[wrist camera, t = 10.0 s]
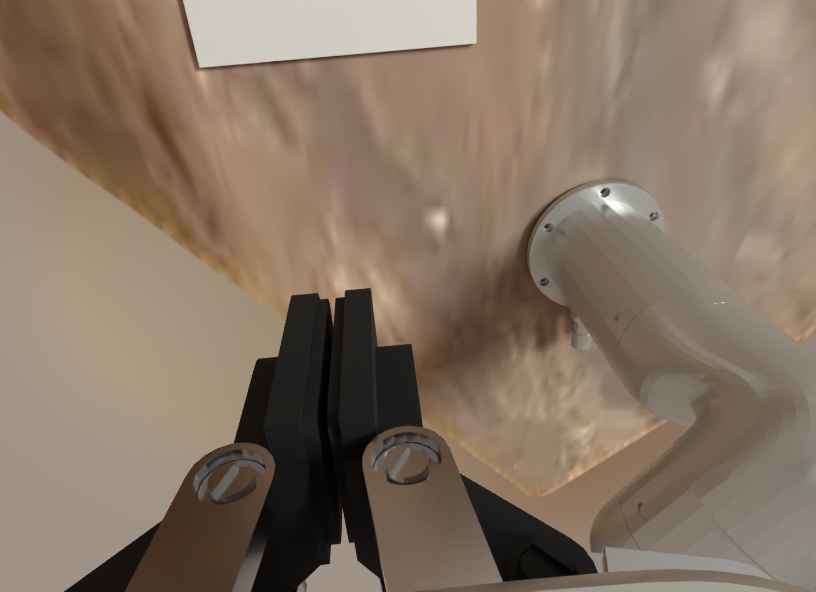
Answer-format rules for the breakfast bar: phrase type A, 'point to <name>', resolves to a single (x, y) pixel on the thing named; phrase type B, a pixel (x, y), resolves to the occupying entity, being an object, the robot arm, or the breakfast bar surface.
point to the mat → (323, 28)
